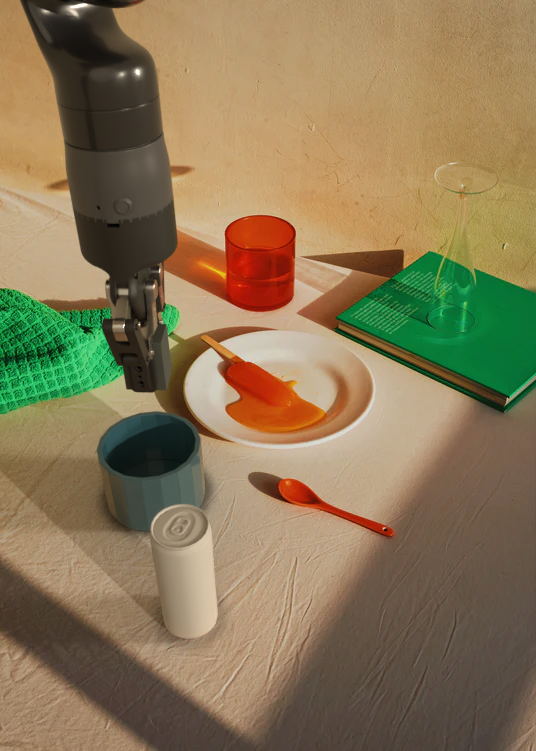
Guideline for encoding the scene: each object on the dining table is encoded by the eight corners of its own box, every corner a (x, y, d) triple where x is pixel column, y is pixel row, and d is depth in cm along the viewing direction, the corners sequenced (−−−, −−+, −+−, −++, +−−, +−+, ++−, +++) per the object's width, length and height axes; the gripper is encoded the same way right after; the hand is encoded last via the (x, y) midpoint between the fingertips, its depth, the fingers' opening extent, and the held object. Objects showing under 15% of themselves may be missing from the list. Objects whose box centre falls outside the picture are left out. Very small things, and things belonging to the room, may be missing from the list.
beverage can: (153, 632, 63) (136, 539, 56) (179, 588, 67) (166, 495, 60) (204, 650, 62) (193, 557, 55) (227, 604, 65) (220, 511, 58)
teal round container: (139, 548, 71) (130, 497, 66) (89, 489, 77) (78, 439, 73) (224, 499, 76) (220, 449, 71) (170, 447, 82) (164, 398, 78)
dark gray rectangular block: (167, 390, 64) (161, 343, 61) (126, 389, 64) (118, 342, 61) (172, 370, 67) (166, 323, 64) (132, 369, 67) (125, 323, 64)
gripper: (94, 159, 61) (123, 332, 71) (45, 236, 50) (87, 429, 60) (185, 159, 60) (200, 334, 71) (156, 237, 49) (179, 431, 60)
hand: (148, 376), depth 65 cm, fingers closed on dark gray rectangular block, 3 cm apart
